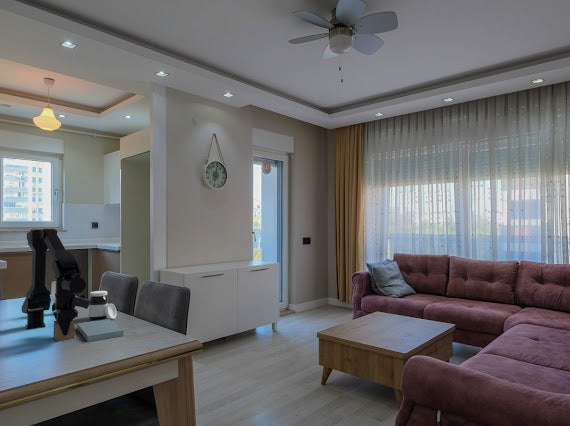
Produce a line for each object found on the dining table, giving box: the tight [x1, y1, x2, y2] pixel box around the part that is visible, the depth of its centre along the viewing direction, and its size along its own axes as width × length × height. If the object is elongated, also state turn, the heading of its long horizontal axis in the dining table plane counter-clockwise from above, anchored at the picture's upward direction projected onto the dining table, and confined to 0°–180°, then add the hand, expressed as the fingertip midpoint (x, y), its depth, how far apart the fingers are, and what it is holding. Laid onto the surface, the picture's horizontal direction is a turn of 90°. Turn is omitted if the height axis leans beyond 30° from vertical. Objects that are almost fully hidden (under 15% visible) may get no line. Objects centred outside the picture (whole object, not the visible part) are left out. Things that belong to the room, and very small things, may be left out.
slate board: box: [76, 318, 124, 343], centre depth 148 cm, size 22×12×2 cm, turn 37°
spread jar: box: [88, 290, 118, 321], centre depth 170 cm, size 12×11×12 cm
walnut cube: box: [53, 319, 76, 342], centre depth 140 cm, size 6×6×6 cm
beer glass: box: [50, 280, 56, 316], centre depth 180 cm, size 7×7×15 cm
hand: (64, 333), depth 140 cm, fingers closed on walnut cube, 6 cm apart
